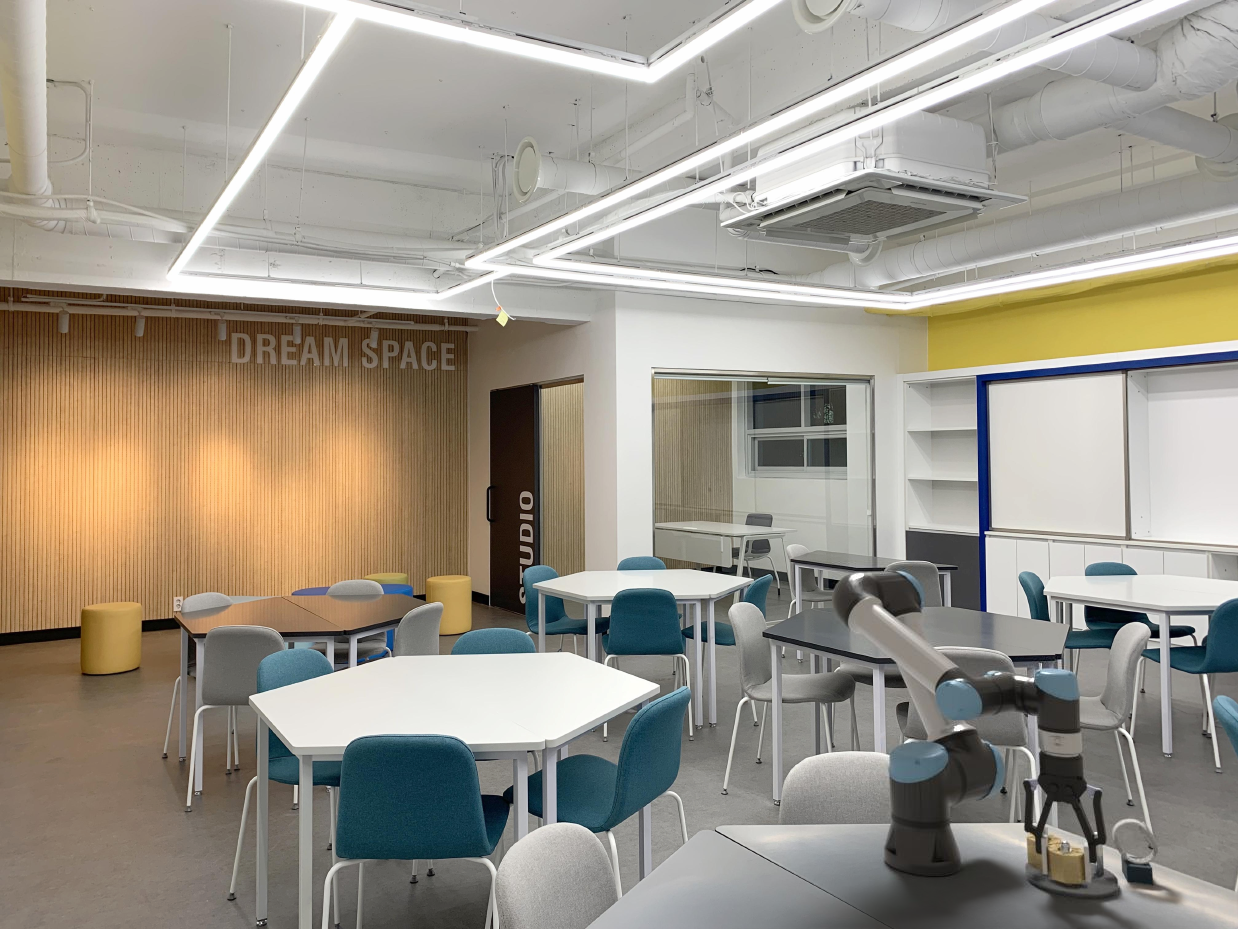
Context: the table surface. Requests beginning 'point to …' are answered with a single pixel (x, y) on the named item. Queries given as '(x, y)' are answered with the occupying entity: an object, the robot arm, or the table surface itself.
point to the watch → (1137, 866)
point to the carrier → (1098, 888)
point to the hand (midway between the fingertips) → (1067, 875)
